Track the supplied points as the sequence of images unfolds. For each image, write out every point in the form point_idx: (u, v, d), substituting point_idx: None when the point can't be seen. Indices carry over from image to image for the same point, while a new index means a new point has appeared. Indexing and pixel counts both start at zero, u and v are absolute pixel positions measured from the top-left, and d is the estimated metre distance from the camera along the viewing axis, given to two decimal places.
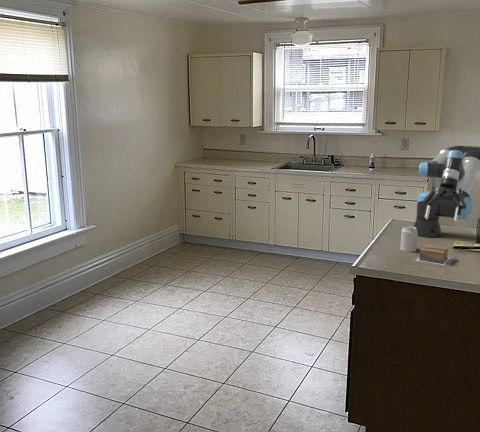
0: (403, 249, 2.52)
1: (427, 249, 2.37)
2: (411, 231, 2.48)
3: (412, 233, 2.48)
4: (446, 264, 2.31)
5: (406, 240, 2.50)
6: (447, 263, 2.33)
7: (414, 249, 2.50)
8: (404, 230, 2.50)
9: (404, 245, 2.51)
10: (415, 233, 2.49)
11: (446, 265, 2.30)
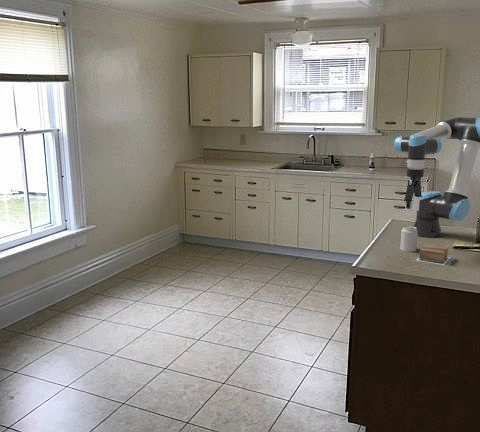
0: (403, 249, 2.52)
1: (427, 249, 2.37)
2: (411, 231, 2.48)
3: (412, 233, 2.48)
4: (446, 264, 2.31)
5: (406, 240, 2.50)
6: (447, 263, 2.33)
7: (414, 249, 2.50)
8: (404, 230, 2.50)
9: (404, 245, 2.51)
10: (415, 233, 2.49)
11: (446, 265, 2.30)
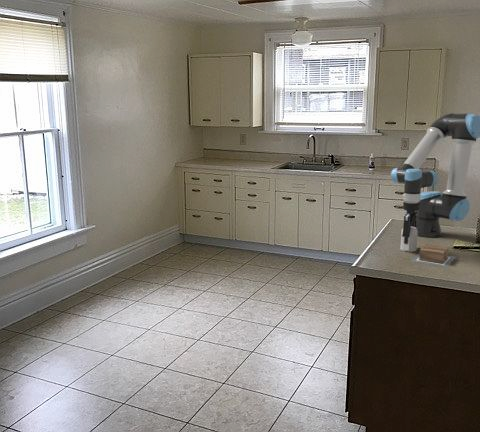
0: None
1: (427, 249, 2.37)
2: (411, 231, 2.48)
3: (412, 233, 2.48)
4: (446, 264, 2.31)
5: None
6: (447, 263, 2.33)
7: (414, 249, 2.50)
8: None
9: None
10: (415, 233, 2.49)
11: (446, 265, 2.30)
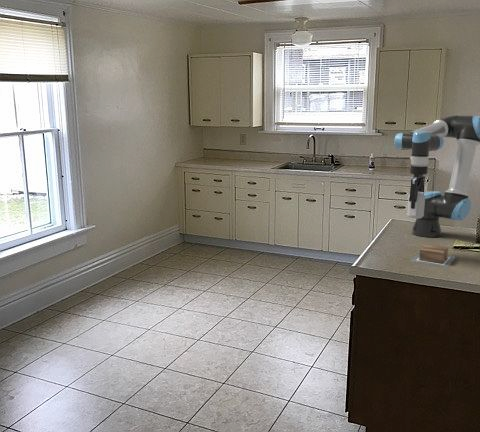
0: None
1: (427, 249, 2.37)
2: (418, 195, 2.41)
3: (419, 197, 2.41)
4: (446, 264, 2.31)
5: None
6: (447, 263, 2.33)
7: (421, 214, 2.43)
8: None
9: None
10: (422, 198, 2.41)
11: (446, 265, 2.30)
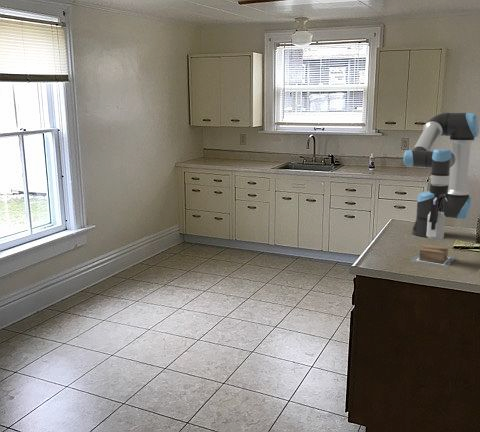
0: (430, 236, 2.34)
1: (427, 249, 2.37)
2: (439, 216, 2.31)
3: (440, 218, 2.31)
4: (446, 264, 2.31)
5: None
6: (447, 263, 2.33)
7: (441, 235, 2.33)
8: None
9: None
10: (443, 218, 2.31)
11: (446, 265, 2.30)
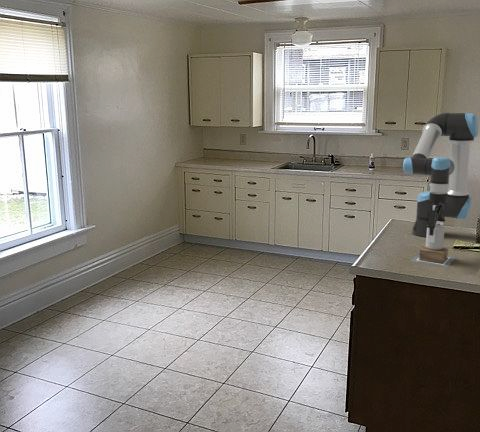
0: (429, 246, 2.35)
1: (427, 249, 2.37)
2: (438, 227, 2.32)
3: (439, 229, 2.32)
4: (446, 264, 2.31)
5: None
6: (447, 263, 2.33)
7: (441, 246, 2.34)
8: None
9: (430, 242, 2.35)
10: (442, 229, 2.33)
11: (446, 265, 2.30)
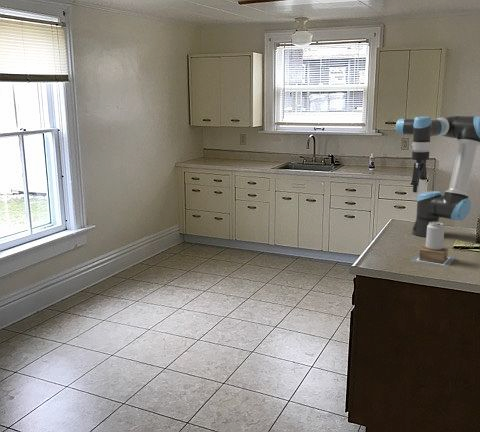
0: (429, 246, 2.35)
1: (427, 249, 2.37)
2: (438, 227, 2.32)
3: (439, 229, 2.32)
4: (446, 264, 2.31)
5: (433, 237, 2.33)
6: (447, 263, 2.33)
7: (441, 246, 2.34)
8: (430, 226, 2.34)
9: (430, 242, 2.35)
10: (442, 229, 2.33)
11: (446, 265, 2.30)
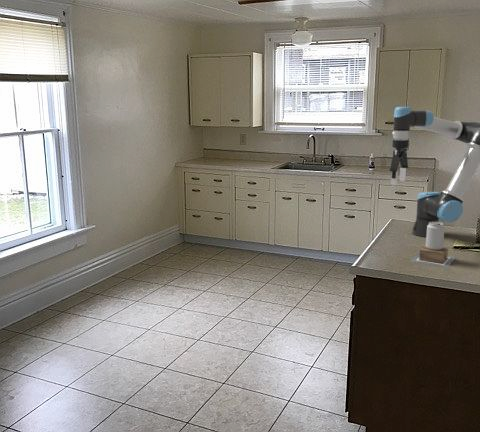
0: (429, 246, 2.35)
1: (427, 249, 2.37)
2: (438, 227, 2.32)
3: (439, 229, 2.32)
4: (446, 264, 2.31)
5: (433, 237, 2.33)
6: (447, 263, 2.33)
7: (441, 246, 2.34)
8: (430, 226, 2.34)
9: (430, 242, 2.35)
10: (442, 229, 2.33)
11: (446, 265, 2.30)
